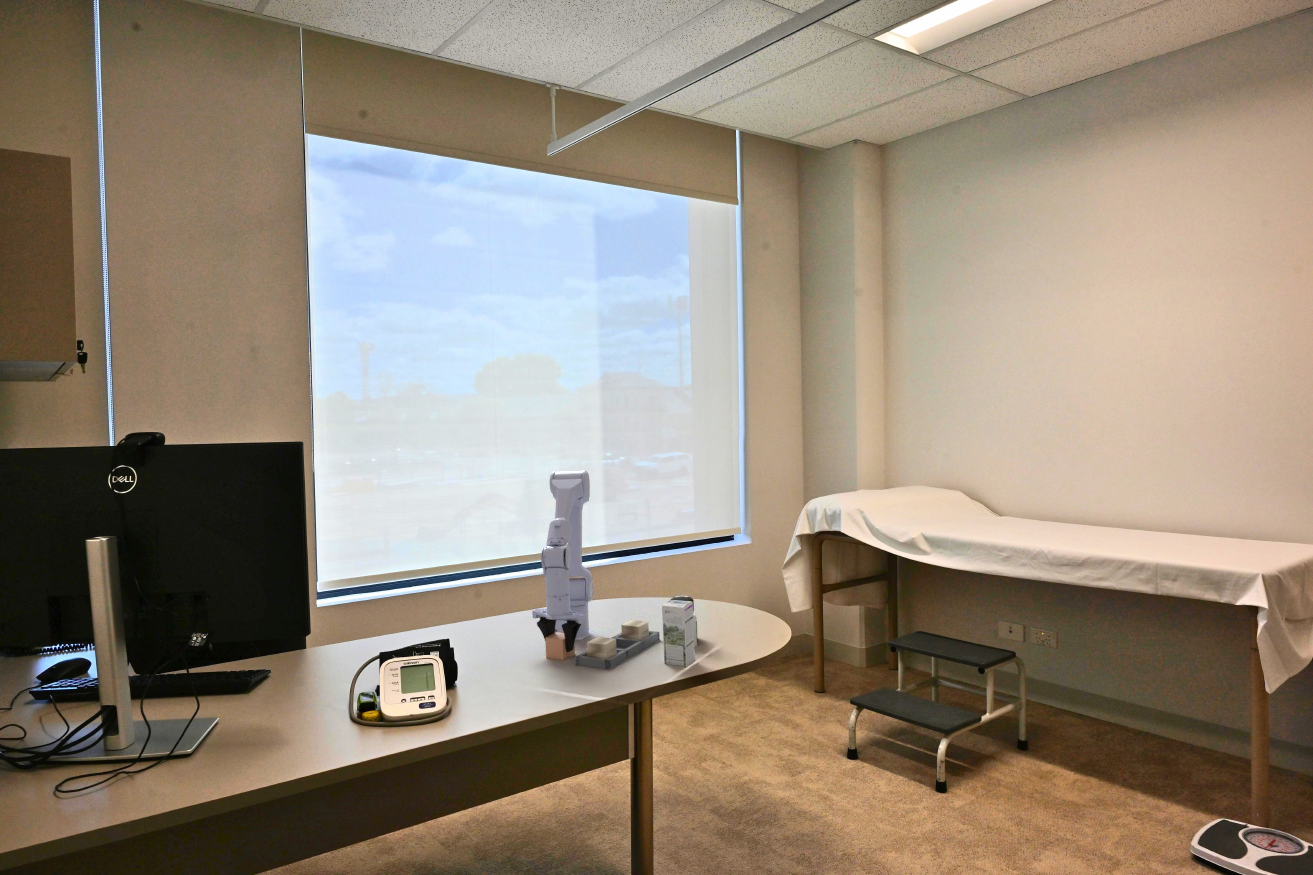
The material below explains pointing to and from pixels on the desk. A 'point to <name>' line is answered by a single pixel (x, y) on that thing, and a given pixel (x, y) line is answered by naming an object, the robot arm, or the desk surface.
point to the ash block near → (601, 648)
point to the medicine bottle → (686, 598)
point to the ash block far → (635, 630)
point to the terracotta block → (557, 647)
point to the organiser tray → (618, 651)
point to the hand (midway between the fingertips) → (560, 649)
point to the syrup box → (678, 632)
